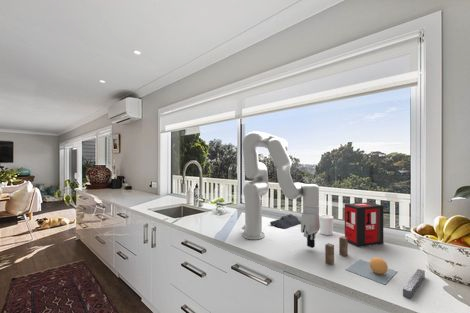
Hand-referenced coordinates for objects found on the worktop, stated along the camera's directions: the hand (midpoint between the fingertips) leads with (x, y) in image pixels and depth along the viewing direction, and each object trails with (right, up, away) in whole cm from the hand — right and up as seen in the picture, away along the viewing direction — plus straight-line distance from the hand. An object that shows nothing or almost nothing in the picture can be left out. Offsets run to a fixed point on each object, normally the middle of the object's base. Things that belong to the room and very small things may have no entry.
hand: (310, 246), depth 112 cm
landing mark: (+17, -2, -21) cm, 27 cm away
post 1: (+3, -2, -14) cm, 15 cm away
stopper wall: (+26, -2, -31) cm, 41 cm away
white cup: (+17, -2, +23) cm, 29 cm away
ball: (+19, +1, -23) cm, 30 cm away
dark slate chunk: (-3, -2, +43) cm, 43 cm away
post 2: (+13, -2, -6) cm, 15 cm away
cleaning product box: (+31, -2, +9) cm, 33 cm away
